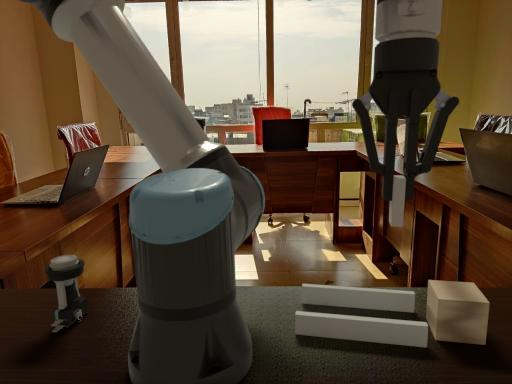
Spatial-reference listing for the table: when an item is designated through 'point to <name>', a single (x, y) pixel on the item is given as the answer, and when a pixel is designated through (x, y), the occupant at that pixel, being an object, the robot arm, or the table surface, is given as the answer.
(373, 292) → the channel
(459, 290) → the maple block
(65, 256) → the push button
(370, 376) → the table surface
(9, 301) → the table surface
